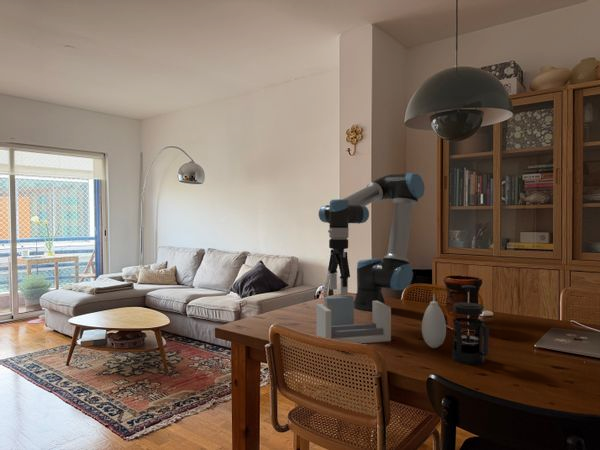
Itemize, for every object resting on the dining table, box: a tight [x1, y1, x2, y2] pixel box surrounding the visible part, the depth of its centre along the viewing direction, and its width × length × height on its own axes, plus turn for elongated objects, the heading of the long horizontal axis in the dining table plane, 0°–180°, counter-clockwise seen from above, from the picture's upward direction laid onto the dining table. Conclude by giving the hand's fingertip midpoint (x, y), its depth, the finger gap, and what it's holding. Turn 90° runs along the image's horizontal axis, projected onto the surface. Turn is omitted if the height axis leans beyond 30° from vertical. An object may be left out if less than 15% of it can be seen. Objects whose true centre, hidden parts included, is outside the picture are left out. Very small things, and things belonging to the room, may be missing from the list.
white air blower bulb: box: [421, 294, 447, 349], centre depth 145 cm, size 8×8×18 cm
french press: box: [451, 285, 490, 366], centre depth 132 cm, size 12×9×23 cm
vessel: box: [443, 274, 483, 331], centre depth 170 cm, size 14×14×20 cm
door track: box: [315, 301, 392, 344], centre depth 156 cm, size 24×12×12 cm, turn 103°
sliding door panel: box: [323, 295, 355, 326], centre depth 171 cm, size 11×4×12 cm, turn 103°
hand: (338, 292), depth 171 cm, fingers open, 13 cm apart
